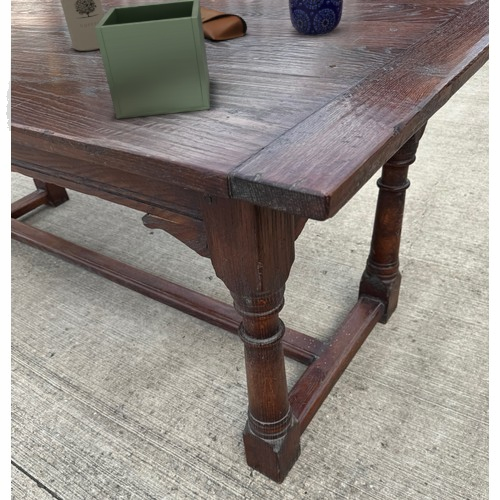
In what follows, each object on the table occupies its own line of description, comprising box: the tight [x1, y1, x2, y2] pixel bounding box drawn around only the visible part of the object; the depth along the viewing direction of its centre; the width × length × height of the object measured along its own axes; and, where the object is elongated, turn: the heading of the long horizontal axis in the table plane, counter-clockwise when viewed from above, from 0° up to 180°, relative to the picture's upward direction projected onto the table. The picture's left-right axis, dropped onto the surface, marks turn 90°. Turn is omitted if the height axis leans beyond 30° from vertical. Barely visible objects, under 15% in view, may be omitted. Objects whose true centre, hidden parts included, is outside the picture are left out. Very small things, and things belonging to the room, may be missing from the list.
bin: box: [95, 0, 211, 120], centre depth 76 cm, size 14×14×12 cm
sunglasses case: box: [200, 5, 248, 41], centre depth 112 cm, size 18×7×7 cm
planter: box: [288, 0, 344, 36], centre depth 102 cm, size 11×11×11 cm
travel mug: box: [59, 0, 105, 52], centre depth 106 cm, size 8×8×18 cm
